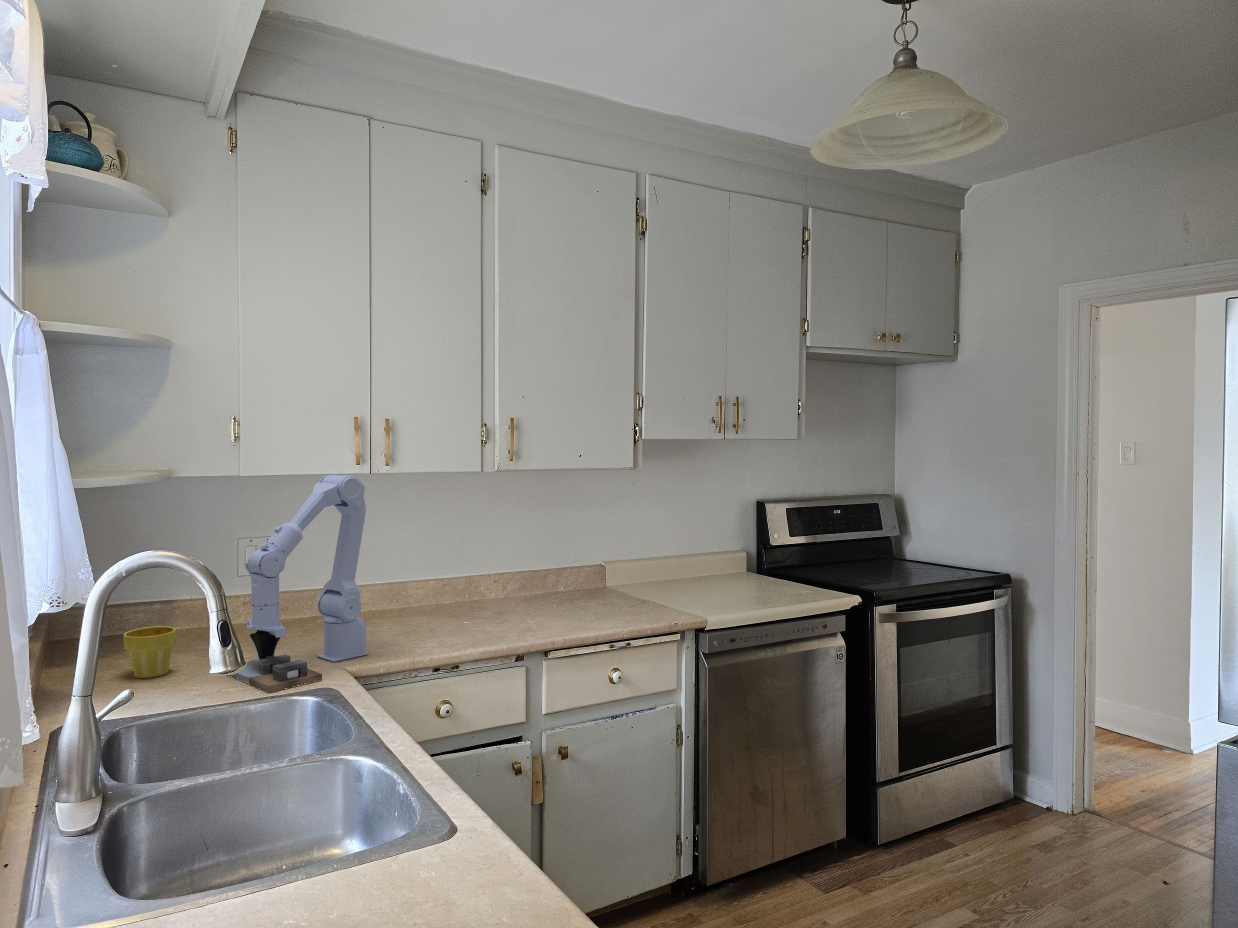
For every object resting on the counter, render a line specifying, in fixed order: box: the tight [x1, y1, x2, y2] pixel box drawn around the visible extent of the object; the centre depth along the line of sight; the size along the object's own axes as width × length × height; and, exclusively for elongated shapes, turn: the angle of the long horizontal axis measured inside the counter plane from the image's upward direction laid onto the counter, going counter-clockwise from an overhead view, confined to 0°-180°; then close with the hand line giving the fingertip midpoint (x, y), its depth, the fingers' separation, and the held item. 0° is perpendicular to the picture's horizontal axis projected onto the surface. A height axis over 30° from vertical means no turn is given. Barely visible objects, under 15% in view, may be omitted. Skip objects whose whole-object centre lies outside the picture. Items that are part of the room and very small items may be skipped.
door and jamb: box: [229, 654, 323, 694], centre depth 185 cm, size 12×22×4 cm, turn 49°
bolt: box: [266, 654, 298, 679], centre depth 182 cm, size 2×11×3 cm, turn 49°
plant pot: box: [122, 625, 177, 679], centre depth 186 cm, size 10×10×10 cm
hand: (266, 663), depth 186 cm, fingers closed
